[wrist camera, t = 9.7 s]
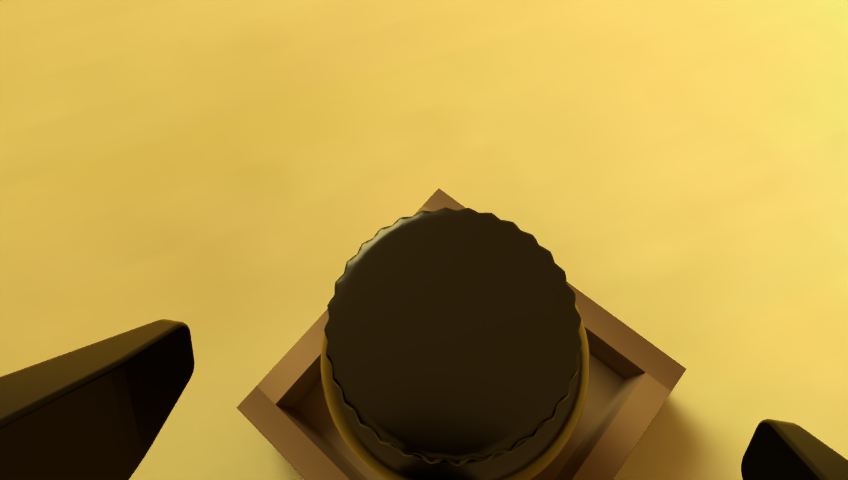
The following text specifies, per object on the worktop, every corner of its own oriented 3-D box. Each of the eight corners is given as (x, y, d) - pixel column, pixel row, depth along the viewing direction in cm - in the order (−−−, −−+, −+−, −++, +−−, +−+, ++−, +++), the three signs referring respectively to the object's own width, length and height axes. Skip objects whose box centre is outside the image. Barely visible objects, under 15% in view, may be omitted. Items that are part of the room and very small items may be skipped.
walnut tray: (481, 629, 18) (486, 668, 15) (267, 411, 21) (236, 407, 18) (653, 378, 21) (686, 368, 18) (440, 219, 24) (438, 188, 21)
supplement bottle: (349, 335, 21) (229, 224, 10) (496, 276, 22) (538, 109, 11) (405, 505, 19) (331, 606, 8) (570, 434, 19) (727, 430, 8)
